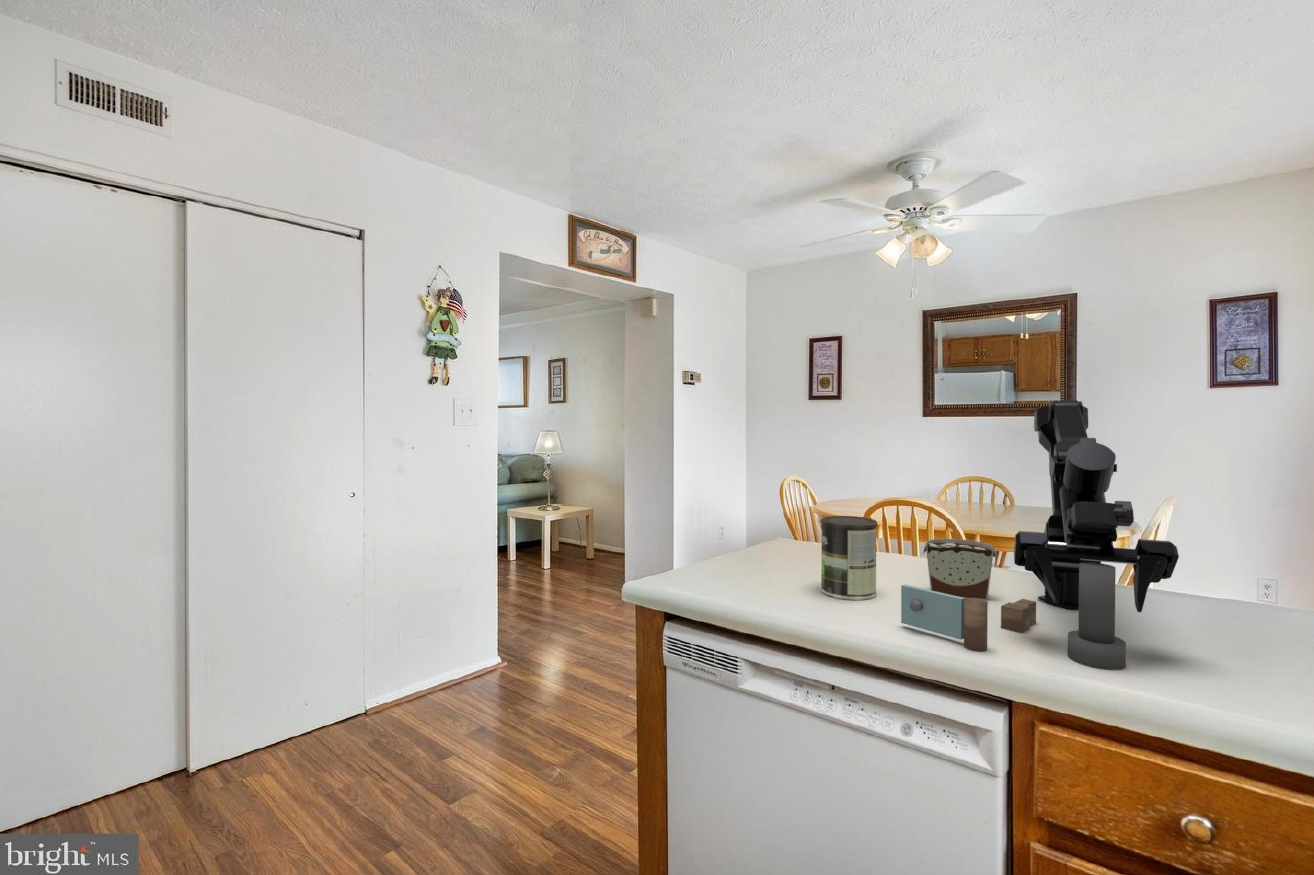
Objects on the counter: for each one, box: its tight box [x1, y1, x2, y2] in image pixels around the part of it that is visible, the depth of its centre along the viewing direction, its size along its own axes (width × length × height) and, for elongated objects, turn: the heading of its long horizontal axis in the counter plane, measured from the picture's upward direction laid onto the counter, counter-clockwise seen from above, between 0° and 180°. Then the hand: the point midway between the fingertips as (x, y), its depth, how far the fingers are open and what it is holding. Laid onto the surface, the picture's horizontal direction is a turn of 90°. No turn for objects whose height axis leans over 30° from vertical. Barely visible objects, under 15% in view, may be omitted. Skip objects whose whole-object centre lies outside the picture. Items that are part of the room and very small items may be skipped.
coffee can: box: [820, 515, 878, 601], centre depth 115 cm, size 10×10×14 cm
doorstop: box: [1067, 562, 1127, 671], centre depth 81 cm, size 6×6×13 cm
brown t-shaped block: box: [963, 598, 1037, 652], centre depth 92 cm, size 20×3×7 cm, turn 127°
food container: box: [922, 538, 998, 602], centre depth 114 cm, size 12×6×10 cm, turn 71°
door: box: [900, 584, 965, 641], centre depth 91 cm, size 10×2×6 cm, turn 37°
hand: (1097, 606), depth 81 cm, fingers open, 9 cm apart
